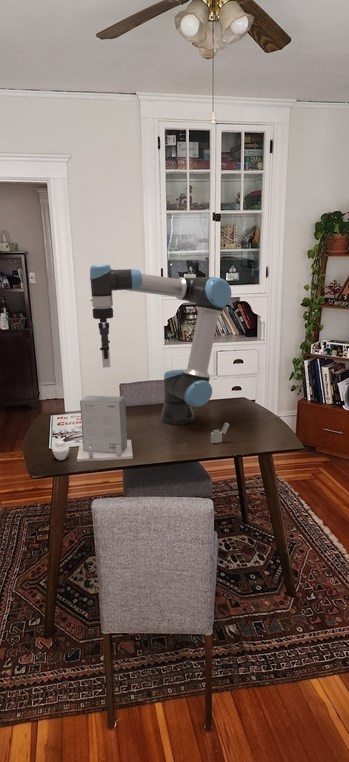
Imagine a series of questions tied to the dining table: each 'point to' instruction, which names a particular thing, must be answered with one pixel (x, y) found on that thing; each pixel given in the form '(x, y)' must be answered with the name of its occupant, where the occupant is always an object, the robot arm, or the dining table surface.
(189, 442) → the dining table surface
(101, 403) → the hard drive box
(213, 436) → the lighter
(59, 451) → the white lidded jar
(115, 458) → the pin tray
